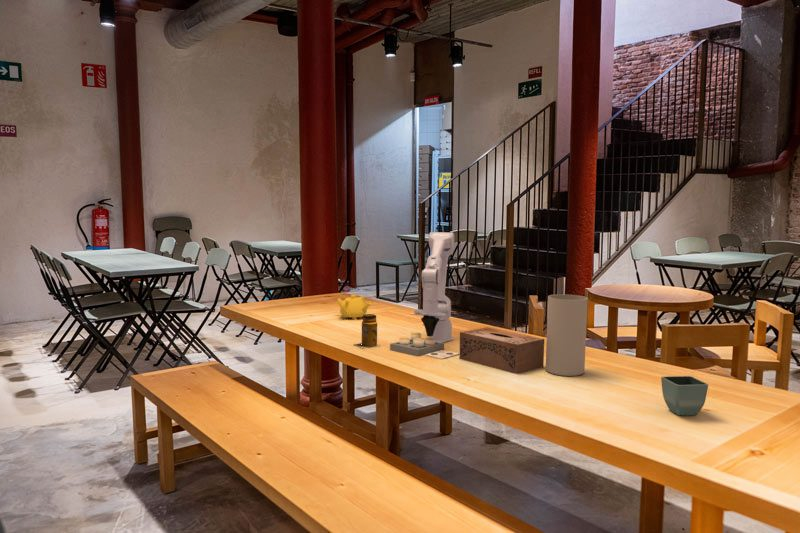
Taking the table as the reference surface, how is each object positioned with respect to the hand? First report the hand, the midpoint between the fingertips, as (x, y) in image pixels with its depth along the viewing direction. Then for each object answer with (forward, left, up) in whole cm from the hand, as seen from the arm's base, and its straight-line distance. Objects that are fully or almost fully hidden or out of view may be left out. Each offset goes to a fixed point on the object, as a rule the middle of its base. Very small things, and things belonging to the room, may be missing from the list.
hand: (430, 335), depth 239 cm
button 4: (0, 0, -4) cm, 4 cm away
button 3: (+7, 0, -3) cm, 7 cm away
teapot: (-25, -69, -6) cm, 74 cm away
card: (+3, +9, -5) cm, 11 cm away
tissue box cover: (-2, +30, -6) cm, 31 cm away
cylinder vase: (-7, +52, -6) cm, 53 cm away
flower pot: (+9, +95, -6) cm, 96 cm away
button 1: (+7, -7, -4) cm, 10 cm away
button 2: (0, -7, -3) cm, 8 cm away
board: (+3, -3, -5) cm, 7 cm away
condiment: (+12, -22, -6) cm, 25 cm away
